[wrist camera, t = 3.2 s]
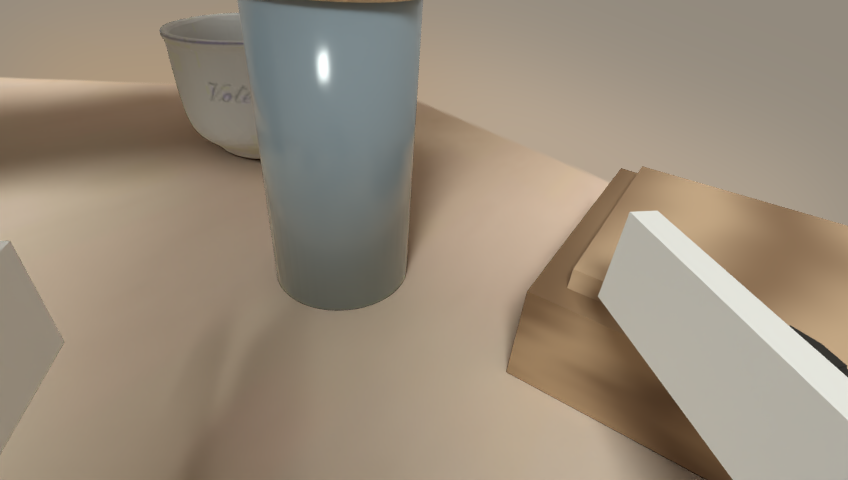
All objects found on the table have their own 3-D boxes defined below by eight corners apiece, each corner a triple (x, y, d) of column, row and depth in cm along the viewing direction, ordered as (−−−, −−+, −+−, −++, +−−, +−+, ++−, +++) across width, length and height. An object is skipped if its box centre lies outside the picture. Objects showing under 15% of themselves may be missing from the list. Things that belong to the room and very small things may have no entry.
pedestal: (506, 371, 17) (532, 271, 15) (598, 233, 26) (626, 153, 23) (915, 591, 12) (1072, 501, 10) (863, 329, 21) (939, 242, 18)
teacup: (216, 192, 27) (185, 45, 22) (169, 128, 34) (139, 6, 29) (413, 146, 34) (420, 28, 29) (341, 101, 41) (338, 0, 36)
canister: (242, 272, 21) (175, -61, 14) (338, 215, 25) (327, -59, 18) (349, 337, 18) (337, -36, 11) (436, 260, 23) (468, -41, 16)
